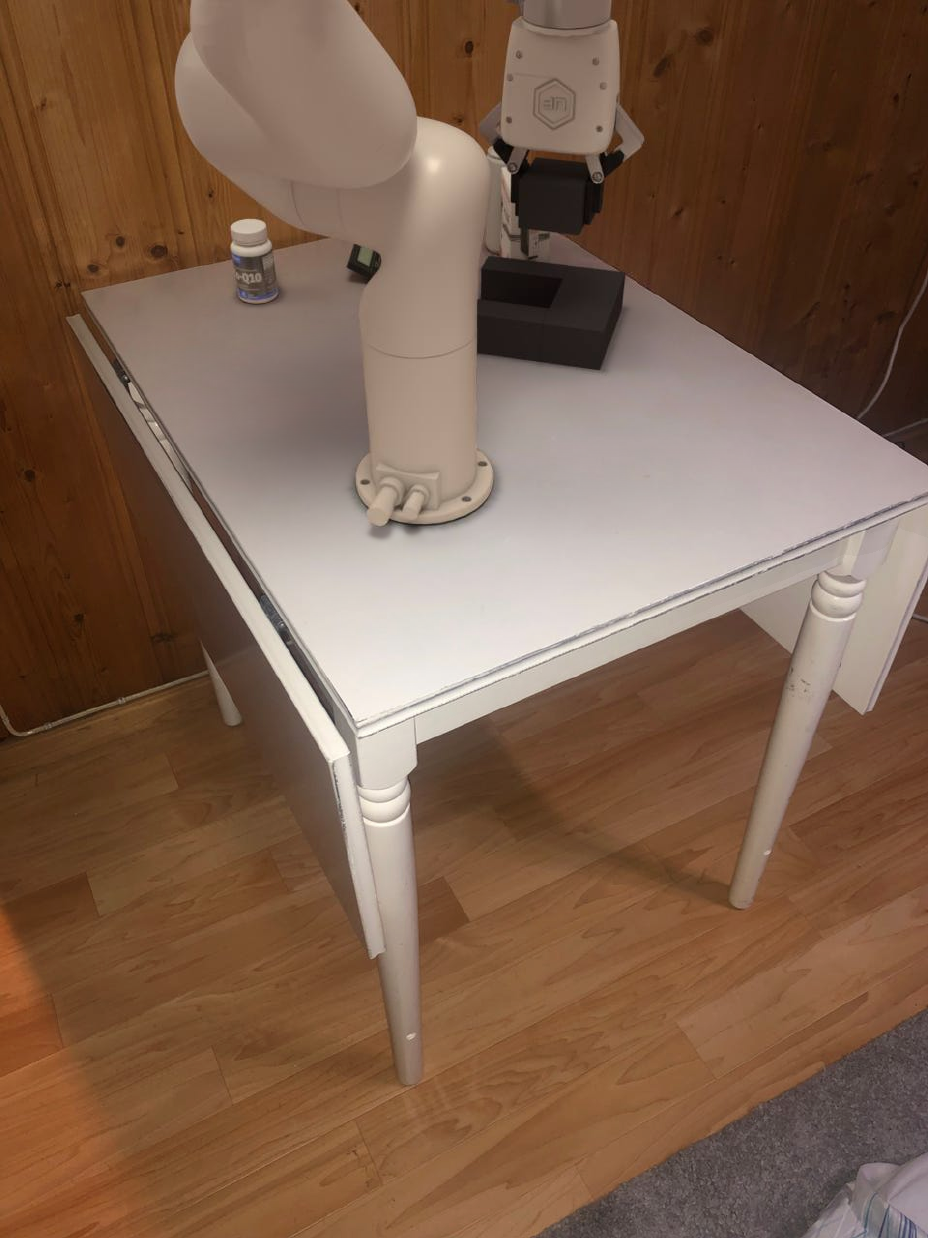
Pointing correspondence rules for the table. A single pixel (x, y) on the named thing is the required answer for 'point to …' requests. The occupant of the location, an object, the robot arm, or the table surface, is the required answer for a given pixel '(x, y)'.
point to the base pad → (547, 311)
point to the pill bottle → (253, 261)
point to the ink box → (519, 230)
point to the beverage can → (494, 202)
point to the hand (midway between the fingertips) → (555, 212)
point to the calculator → (364, 261)
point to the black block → (553, 196)
